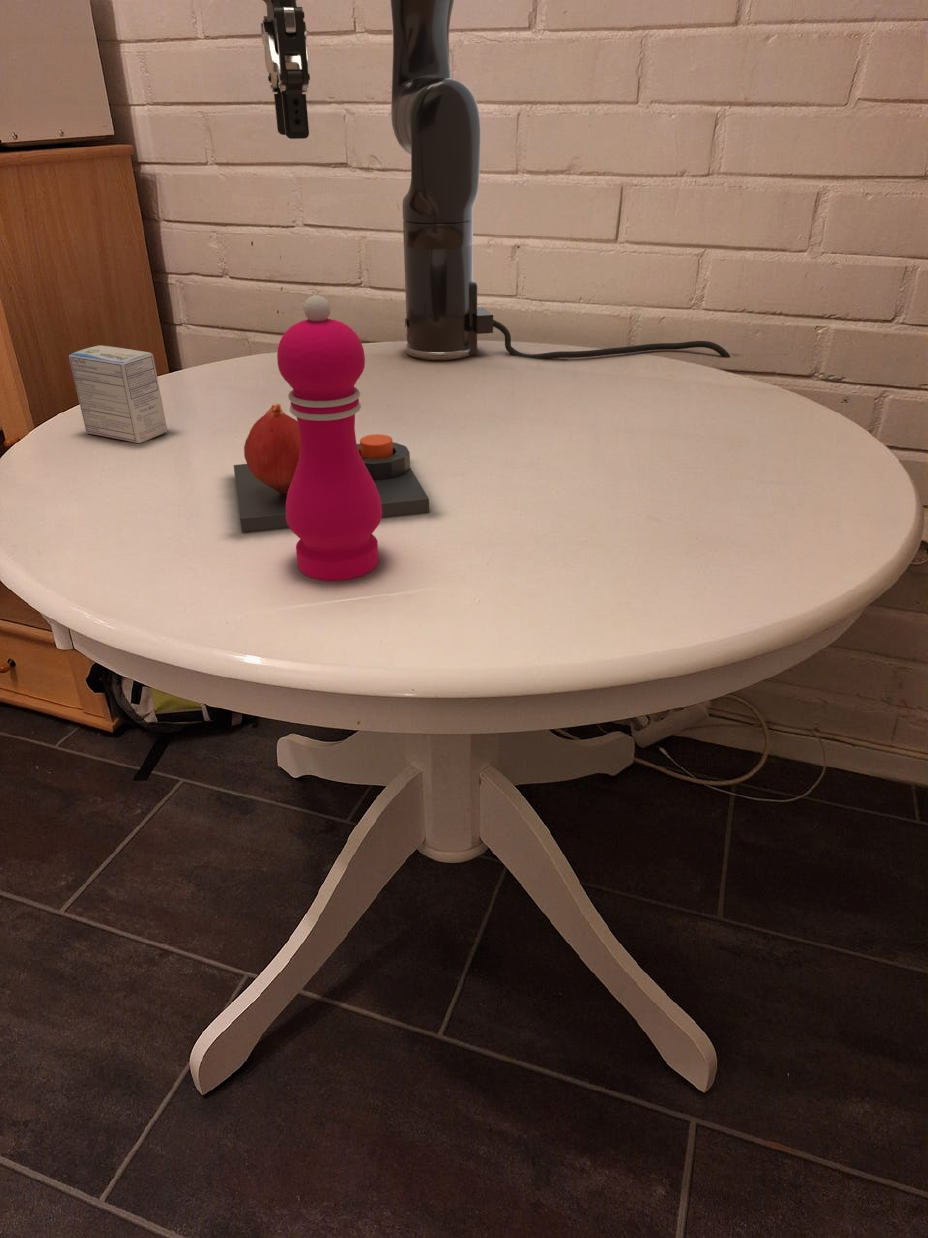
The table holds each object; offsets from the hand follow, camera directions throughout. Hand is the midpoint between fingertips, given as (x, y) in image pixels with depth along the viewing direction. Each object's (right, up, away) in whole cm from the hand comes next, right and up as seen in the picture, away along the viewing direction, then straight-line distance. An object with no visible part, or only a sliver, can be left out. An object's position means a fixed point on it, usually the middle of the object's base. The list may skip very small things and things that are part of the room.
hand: (293, 136), depth 91 cm
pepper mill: (+7, -44, -20) cm, 49 cm away
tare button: (+9, -33, -7) cm, 35 cm away
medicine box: (-19, -28, +7) cm, 35 cm away
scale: (+5, -37, -8) cm, 38 cm away
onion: (+1, -37, -11) cm, 39 cm away
